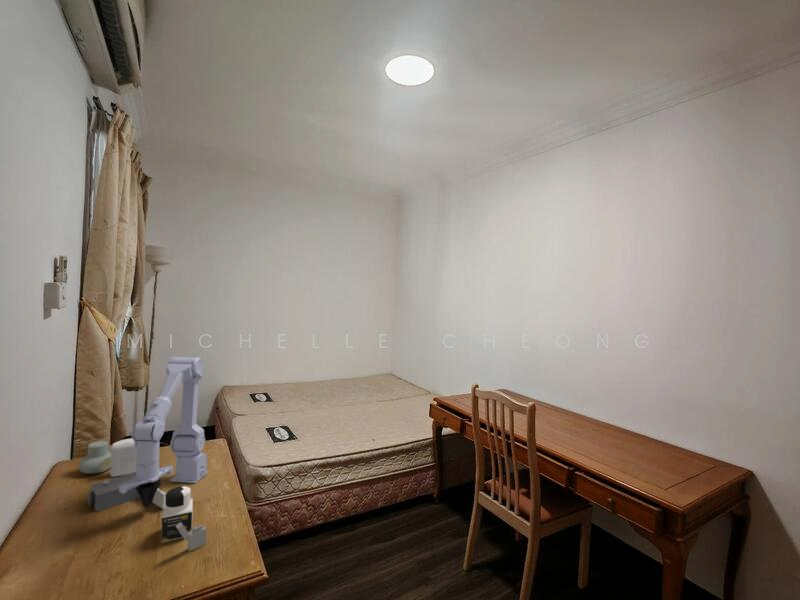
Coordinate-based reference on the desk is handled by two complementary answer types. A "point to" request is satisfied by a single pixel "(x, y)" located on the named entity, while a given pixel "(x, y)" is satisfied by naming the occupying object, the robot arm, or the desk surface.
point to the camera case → (111, 493)
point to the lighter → (193, 536)
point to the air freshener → (96, 458)
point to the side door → (159, 498)
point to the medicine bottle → (177, 513)
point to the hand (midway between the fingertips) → (147, 505)
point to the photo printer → (123, 458)
